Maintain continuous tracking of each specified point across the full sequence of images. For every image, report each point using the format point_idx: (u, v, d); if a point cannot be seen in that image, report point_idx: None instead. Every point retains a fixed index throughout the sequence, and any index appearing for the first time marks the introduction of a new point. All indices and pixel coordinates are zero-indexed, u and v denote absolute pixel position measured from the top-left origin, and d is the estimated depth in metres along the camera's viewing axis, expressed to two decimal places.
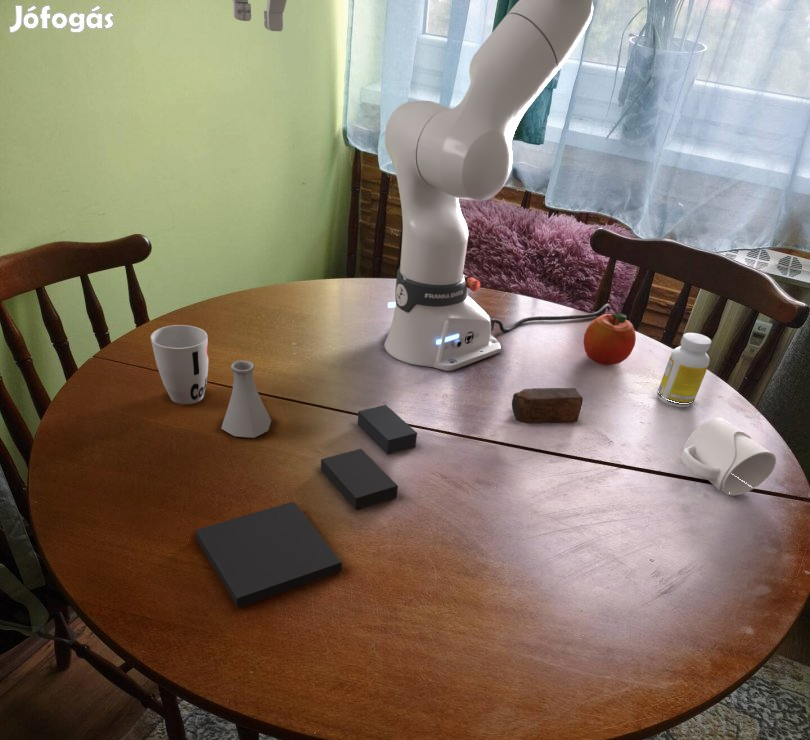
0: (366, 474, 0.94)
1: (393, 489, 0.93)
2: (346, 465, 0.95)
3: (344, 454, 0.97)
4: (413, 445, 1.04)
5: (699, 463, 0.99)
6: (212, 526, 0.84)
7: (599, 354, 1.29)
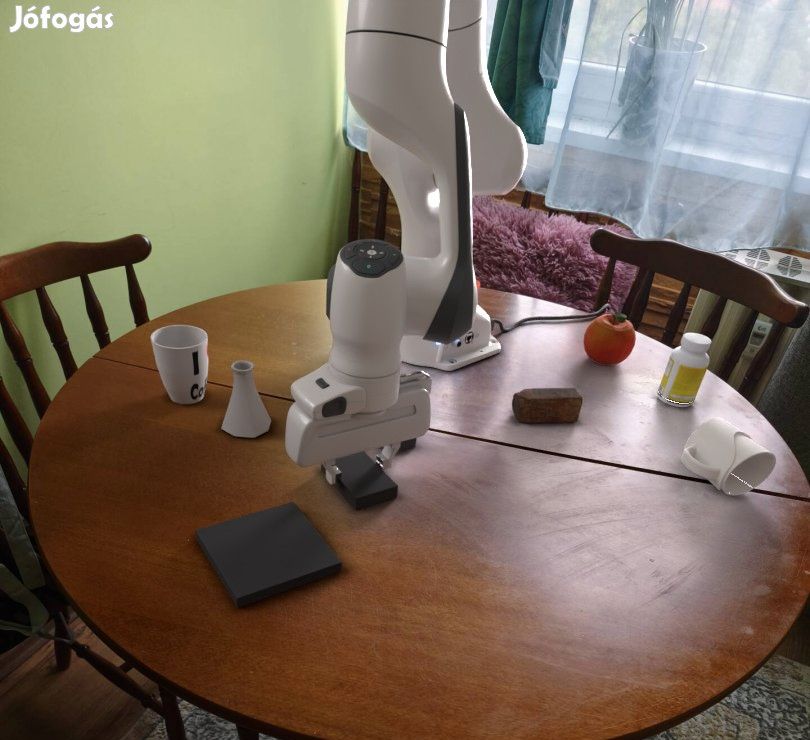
0: (366, 475, 0.94)
1: (393, 489, 0.93)
2: (346, 465, 0.95)
3: None
4: (413, 445, 1.04)
5: (699, 463, 0.99)
6: (212, 526, 0.84)
7: (599, 354, 1.29)
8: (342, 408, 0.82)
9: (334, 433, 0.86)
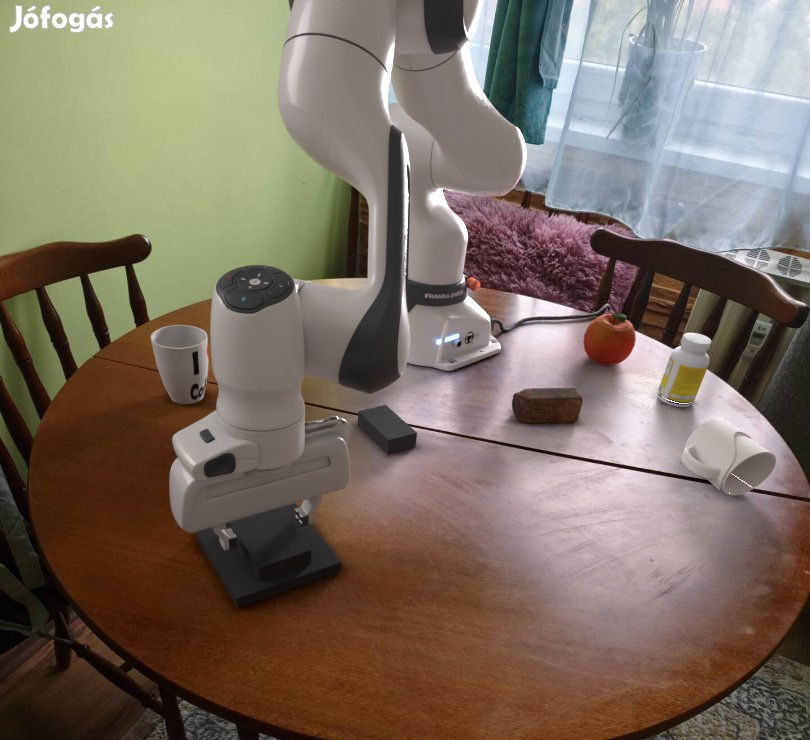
0: (275, 536, 0.81)
1: (305, 555, 0.79)
2: (253, 525, 0.82)
3: None
4: (413, 445, 1.04)
5: (699, 463, 0.99)
6: None
7: (599, 354, 1.29)
8: (230, 466, 0.68)
9: (227, 493, 0.72)
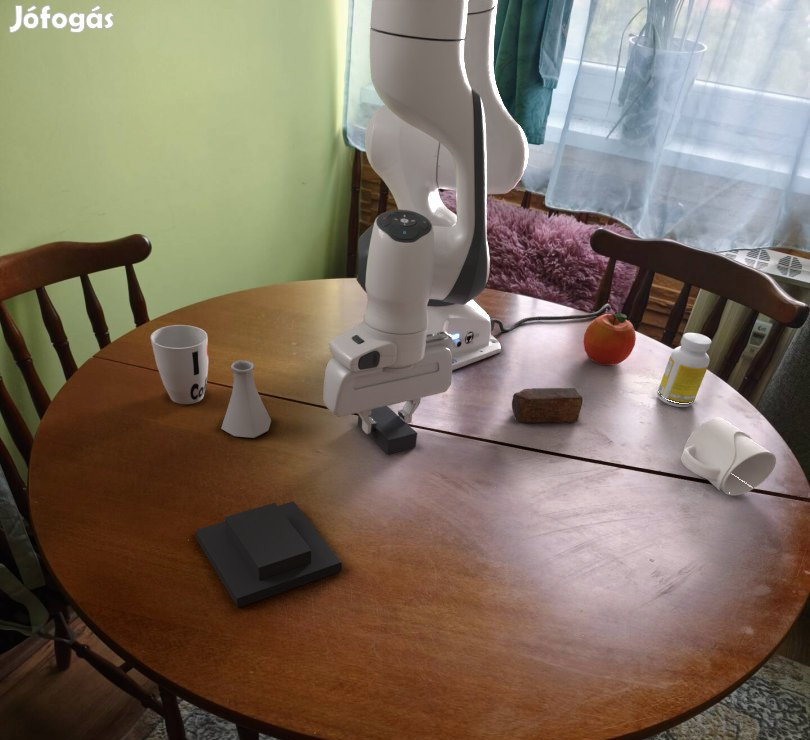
0: (275, 536, 0.81)
1: (305, 555, 0.79)
2: (253, 525, 0.82)
3: (253, 510, 0.84)
4: (413, 445, 1.04)
5: (699, 463, 0.99)
6: (212, 526, 0.84)
7: (599, 354, 1.29)
8: (376, 361, 0.92)
9: (367, 386, 0.96)
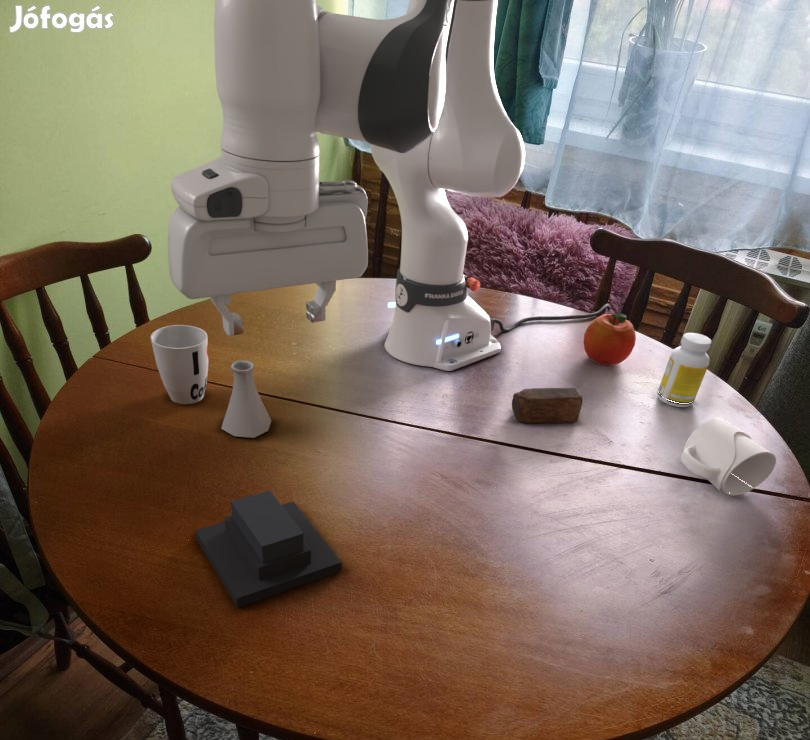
0: None
1: (305, 555, 0.79)
2: None
3: None
4: (300, 548, 0.79)
5: (699, 463, 0.99)
6: (212, 526, 0.84)
7: (599, 354, 1.29)
8: (236, 206, 0.61)
9: (232, 252, 0.65)
